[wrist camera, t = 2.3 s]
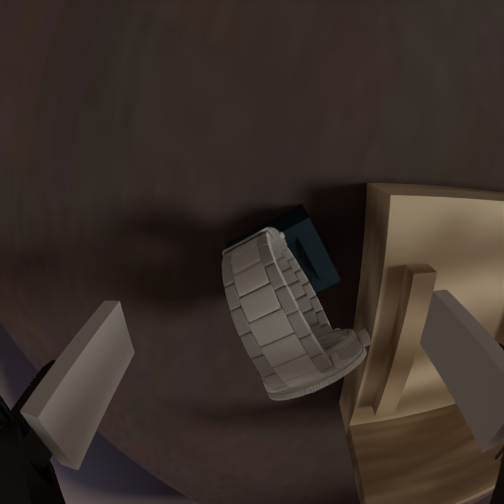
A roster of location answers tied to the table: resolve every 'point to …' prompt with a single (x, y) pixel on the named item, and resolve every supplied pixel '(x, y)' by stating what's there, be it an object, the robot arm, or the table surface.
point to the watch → (288, 307)
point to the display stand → (408, 342)
